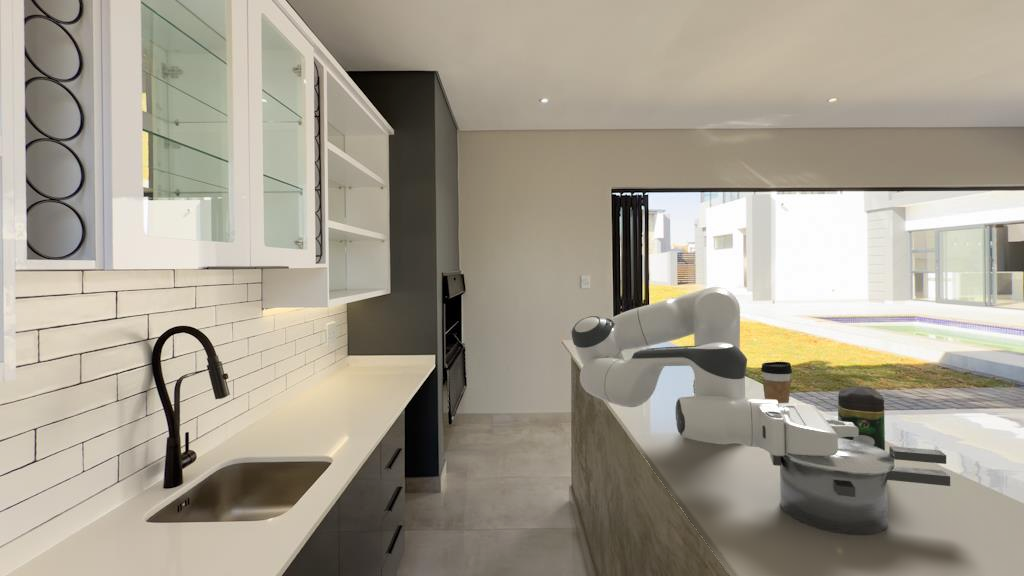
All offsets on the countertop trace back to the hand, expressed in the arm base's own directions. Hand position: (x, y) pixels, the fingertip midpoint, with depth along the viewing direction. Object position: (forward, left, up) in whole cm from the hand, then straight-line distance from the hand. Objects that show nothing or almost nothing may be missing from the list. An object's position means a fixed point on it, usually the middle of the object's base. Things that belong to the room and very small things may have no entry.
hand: (856, 429), depth 88 cm
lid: (0, 0, -5) cm, 5 cm away
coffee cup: (-69, -5, -15) cm, 71 cm away
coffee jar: (-19, +5, -15) cm, 25 cm away
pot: (0, 0, -15) cm, 15 cm away
